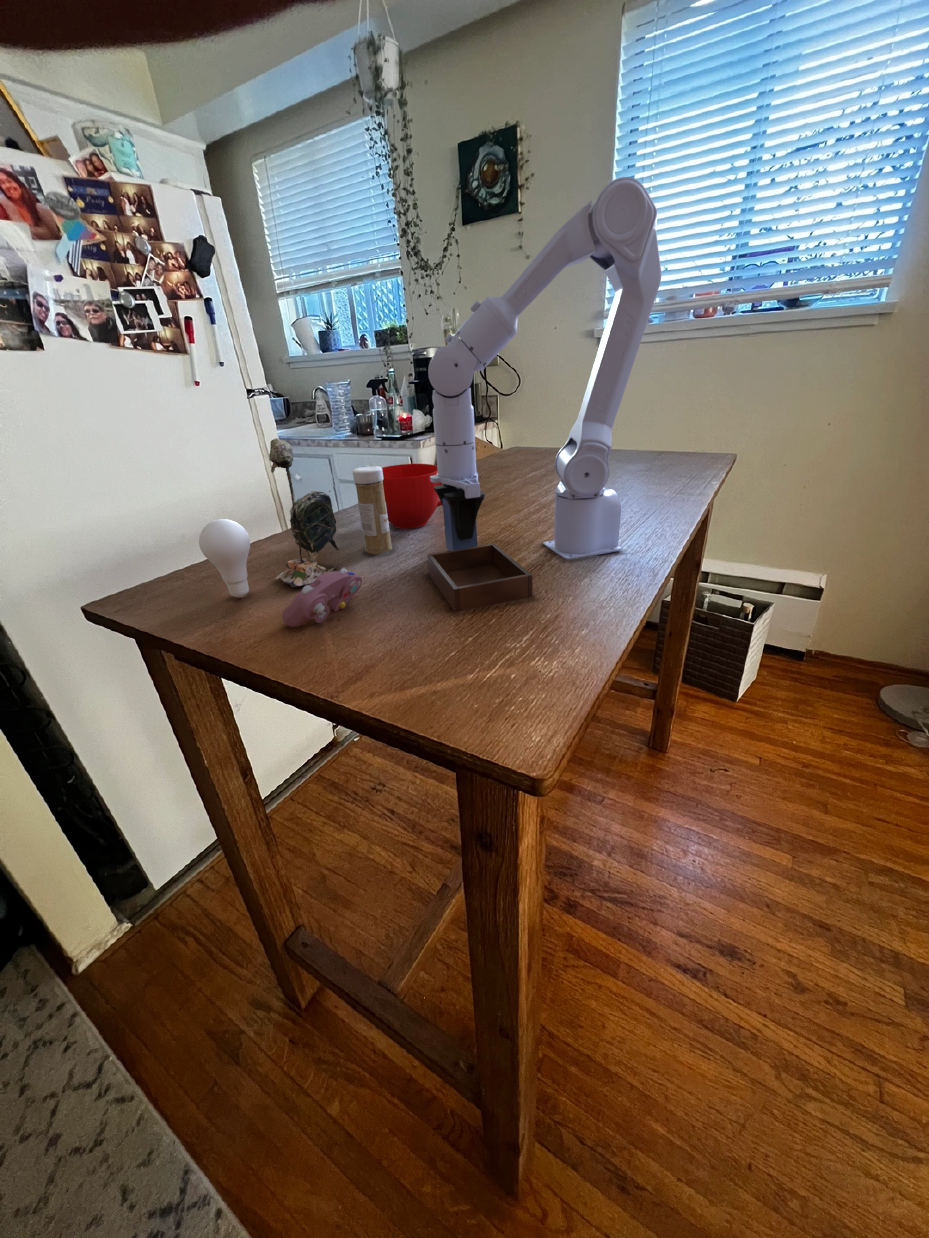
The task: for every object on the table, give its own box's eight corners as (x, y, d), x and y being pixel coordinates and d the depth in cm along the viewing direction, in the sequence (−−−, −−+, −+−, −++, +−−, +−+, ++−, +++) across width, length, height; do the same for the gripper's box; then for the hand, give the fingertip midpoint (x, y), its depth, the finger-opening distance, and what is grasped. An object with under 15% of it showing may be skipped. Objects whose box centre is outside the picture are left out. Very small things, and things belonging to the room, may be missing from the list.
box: (495, 564, 75) (494, 543, 73) (532, 599, 64) (532, 574, 62) (429, 576, 72) (426, 554, 71) (456, 614, 61) (454, 589, 60)
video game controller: (304, 645, 60) (312, 602, 55) (277, 622, 61) (283, 579, 56) (360, 611, 67) (371, 571, 63) (336, 591, 68) (345, 551, 64)
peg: (469, 543, 81) (467, 494, 78) (477, 551, 78) (475, 500, 74) (446, 547, 80) (442, 497, 77) (453, 555, 77) (449, 504, 73)
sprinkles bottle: (397, 551, 83) (386, 467, 76) (372, 557, 81) (359, 472, 74) (385, 544, 86) (374, 464, 80) (360, 550, 84) (347, 468, 78)
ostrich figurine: (359, 570, 76) (337, 431, 67) (290, 594, 70) (254, 443, 60) (332, 558, 82) (308, 427, 72) (265, 579, 75) (229, 439, 66)
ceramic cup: (464, 531, 90) (460, 474, 85) (370, 536, 91) (362, 480, 86) (464, 511, 101) (462, 460, 97) (382, 516, 102) (375, 465, 97)
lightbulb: (219, 611, 66) (193, 530, 61) (216, 594, 71) (191, 518, 66) (267, 599, 68) (246, 521, 63) (261, 584, 73) (241, 510, 68)
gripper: (416, 439, 77) (424, 525, 83) (442, 453, 65) (449, 552, 71) (460, 434, 79) (465, 519, 85) (493, 447, 66) (496, 545, 73)
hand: (460, 534), depth 78 cm, fingers closed on peg, 4 cm apart
